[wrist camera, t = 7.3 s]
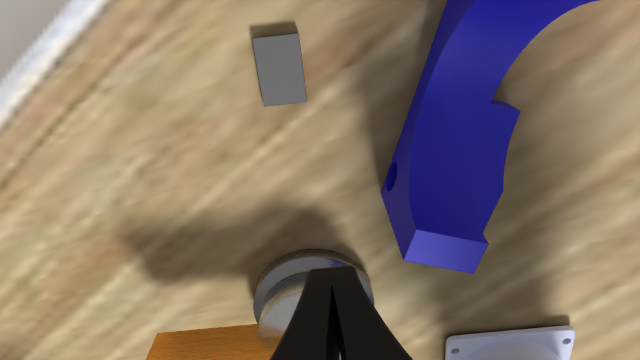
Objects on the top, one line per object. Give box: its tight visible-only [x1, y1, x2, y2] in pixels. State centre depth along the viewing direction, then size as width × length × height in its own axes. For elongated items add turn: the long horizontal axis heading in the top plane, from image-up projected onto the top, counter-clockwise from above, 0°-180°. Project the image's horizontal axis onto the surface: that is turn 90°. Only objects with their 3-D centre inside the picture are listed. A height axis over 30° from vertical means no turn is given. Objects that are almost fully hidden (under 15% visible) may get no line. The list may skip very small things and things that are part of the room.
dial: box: [146, 271, 341, 360], centre depth 21 cm, size 12×6×4 cm, turn 96°
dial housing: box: [253, 249, 374, 324], centre depth 24 cm, size 7×7×1 cm
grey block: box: [252, 33, 307, 107], centre depth 18 cm, size 3×2×1 cm, turn 6°
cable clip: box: [381, 0, 598, 274], centre depth 16 cm, size 12×4×6 cm, turn 166°
